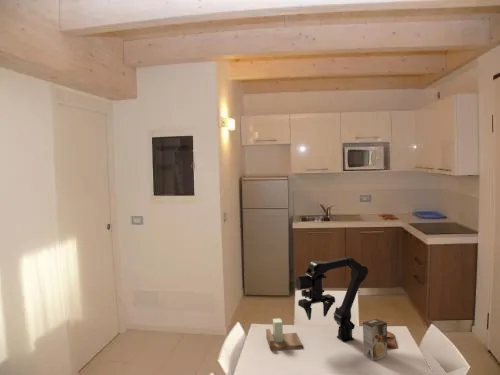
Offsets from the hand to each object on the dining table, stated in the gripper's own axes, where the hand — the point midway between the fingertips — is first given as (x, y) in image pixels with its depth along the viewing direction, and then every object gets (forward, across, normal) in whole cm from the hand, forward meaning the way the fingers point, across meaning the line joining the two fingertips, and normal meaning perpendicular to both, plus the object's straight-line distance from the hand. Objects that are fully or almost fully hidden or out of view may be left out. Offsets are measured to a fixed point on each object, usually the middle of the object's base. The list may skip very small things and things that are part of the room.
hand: (317, 318), depth 193 cm
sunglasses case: (+14, -33, +14) cm, 38 cm away
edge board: (+13, +14, -9) cm, 21 cm away
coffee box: (+13, -16, +23) cm, 31 cm away
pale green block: (+12, +17, -10) cm, 23 cm away
